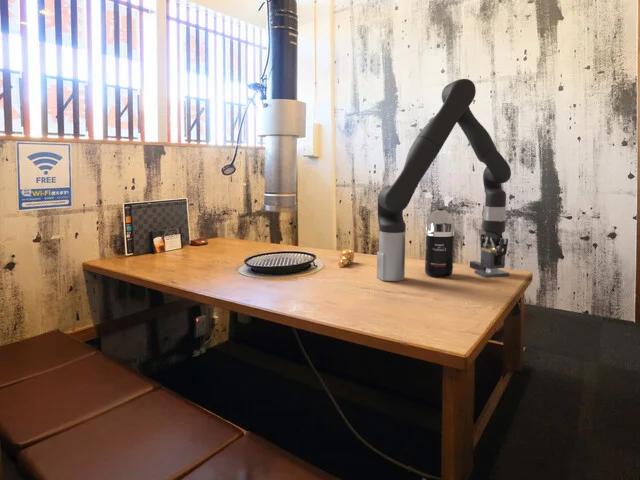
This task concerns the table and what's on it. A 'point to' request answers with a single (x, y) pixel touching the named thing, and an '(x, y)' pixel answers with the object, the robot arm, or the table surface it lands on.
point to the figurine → (346, 257)
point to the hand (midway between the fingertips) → (492, 263)
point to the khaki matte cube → (490, 258)
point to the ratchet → (486, 270)
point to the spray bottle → (439, 244)
